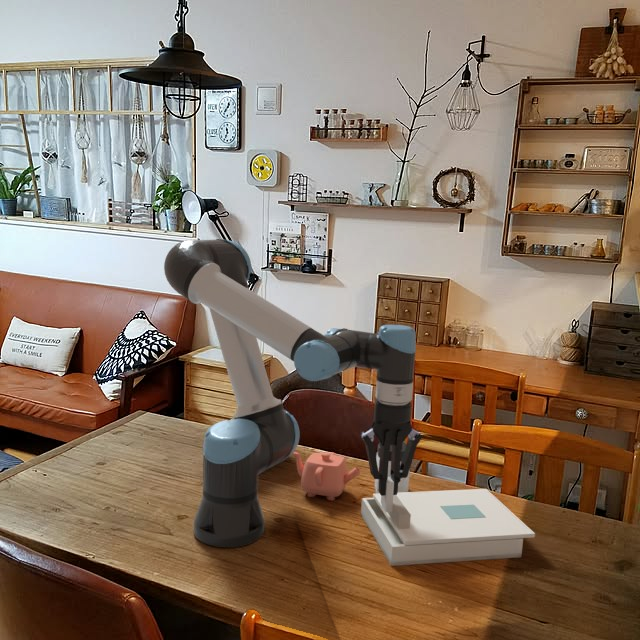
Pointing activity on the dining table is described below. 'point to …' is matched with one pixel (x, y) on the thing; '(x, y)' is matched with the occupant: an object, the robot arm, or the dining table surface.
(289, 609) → the dining table surface
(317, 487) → the teapot
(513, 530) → the lid
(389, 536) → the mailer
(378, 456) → the jar
